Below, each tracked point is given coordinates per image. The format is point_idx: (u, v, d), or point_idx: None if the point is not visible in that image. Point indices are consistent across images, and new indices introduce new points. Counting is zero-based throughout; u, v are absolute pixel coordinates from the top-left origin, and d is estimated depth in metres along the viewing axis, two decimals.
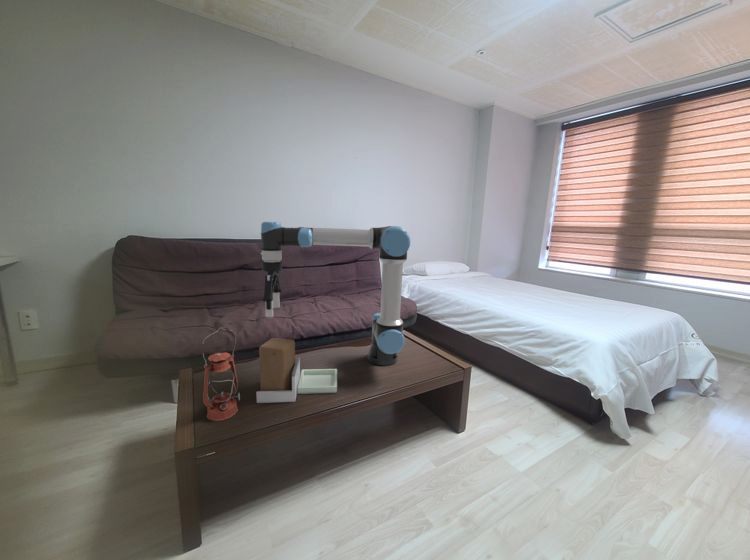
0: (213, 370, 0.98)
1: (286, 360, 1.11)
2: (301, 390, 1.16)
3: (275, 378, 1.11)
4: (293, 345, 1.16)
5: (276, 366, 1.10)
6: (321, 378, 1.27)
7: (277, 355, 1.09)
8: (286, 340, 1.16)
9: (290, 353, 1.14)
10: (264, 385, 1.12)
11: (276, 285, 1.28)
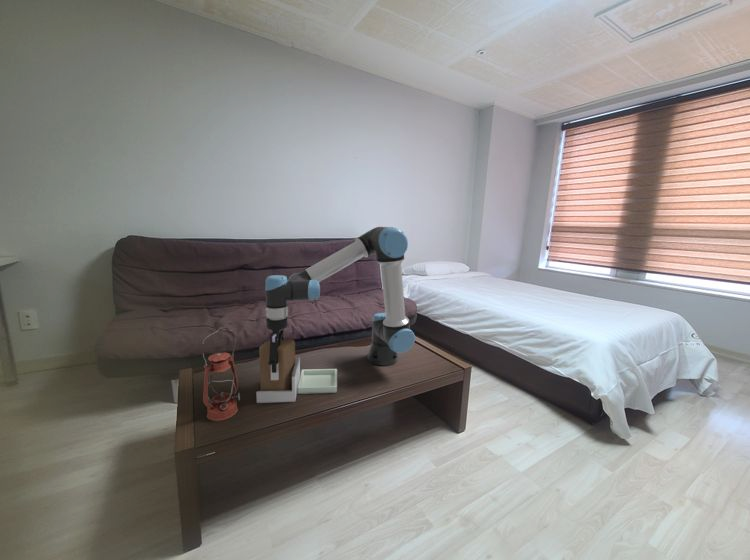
0: (213, 370, 0.98)
1: (286, 360, 1.11)
2: (301, 390, 1.16)
3: None
4: (293, 345, 1.16)
5: None
6: (321, 378, 1.27)
7: None
8: (286, 340, 1.16)
9: (290, 353, 1.14)
10: (264, 385, 1.12)
11: None
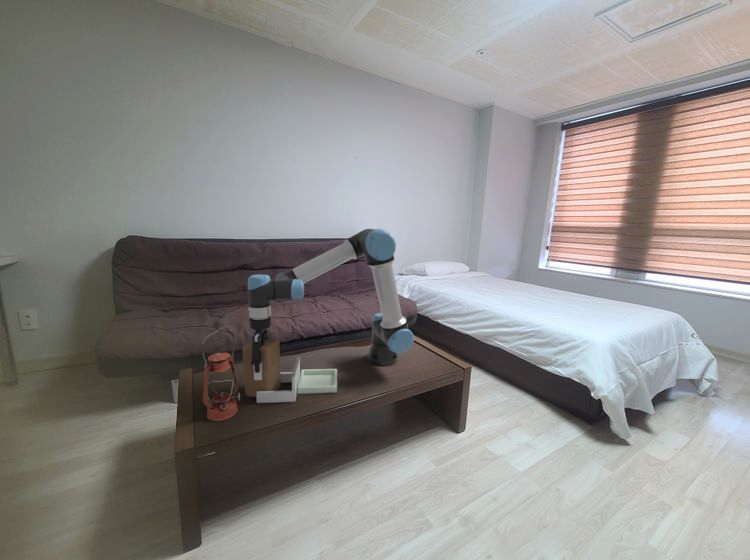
0: (213, 370, 0.98)
1: (270, 360, 1.11)
2: (301, 390, 1.16)
3: None
4: (277, 344, 1.15)
5: None
6: (321, 378, 1.27)
7: None
8: (270, 340, 1.16)
9: (274, 353, 1.13)
10: (249, 386, 1.12)
11: None
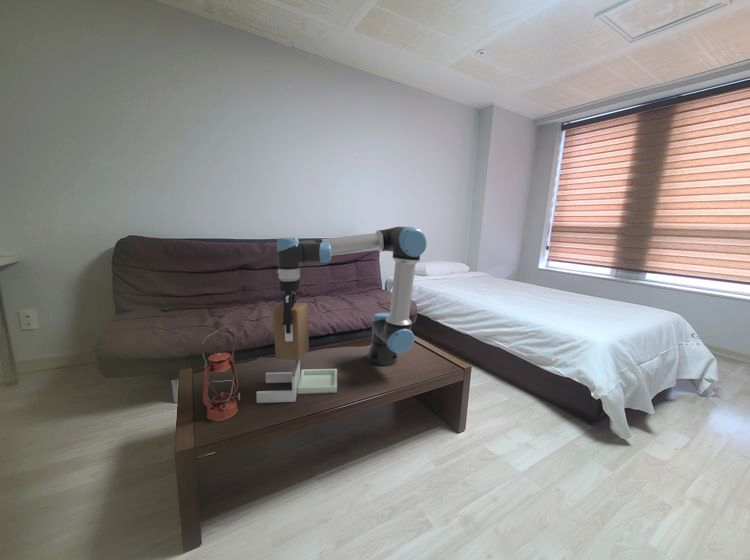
0: (213, 370, 0.98)
1: (300, 321, 1.12)
2: (301, 390, 1.16)
3: None
4: (306, 308, 1.17)
5: None
6: (321, 378, 1.27)
7: None
8: (298, 303, 1.17)
9: (303, 315, 1.15)
10: (279, 348, 1.13)
11: None
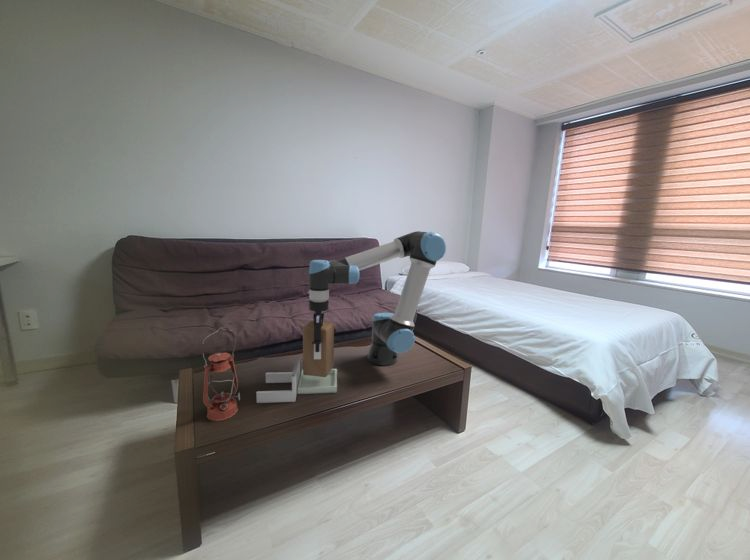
0: (213, 370, 0.98)
1: (328, 340, 1.17)
2: (301, 390, 1.16)
3: None
4: (333, 327, 1.22)
5: None
6: (321, 378, 1.27)
7: None
8: (326, 322, 1.22)
9: (331, 334, 1.20)
10: (307, 365, 1.18)
11: None
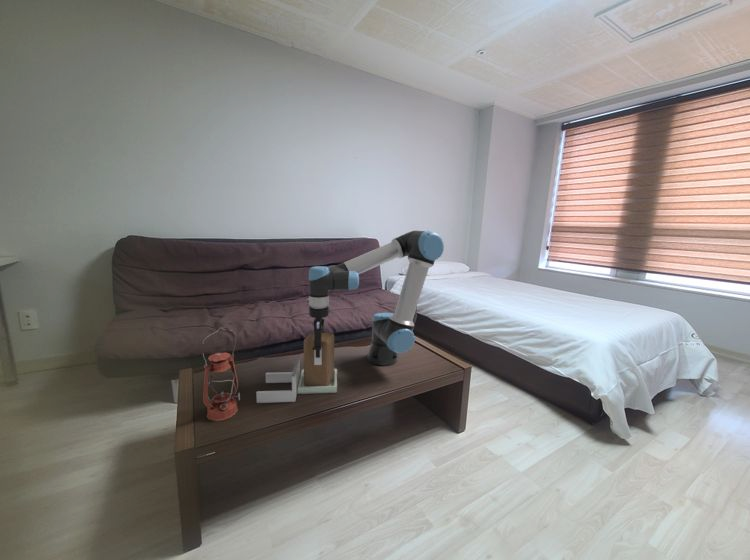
0: (213, 370, 0.98)
1: (329, 352, 1.18)
2: (301, 390, 1.16)
3: (319, 369, 1.18)
4: (333, 338, 1.23)
5: None
6: None
7: (321, 347, 1.16)
8: (326, 333, 1.23)
9: (331, 346, 1.21)
10: (308, 376, 1.19)
11: None
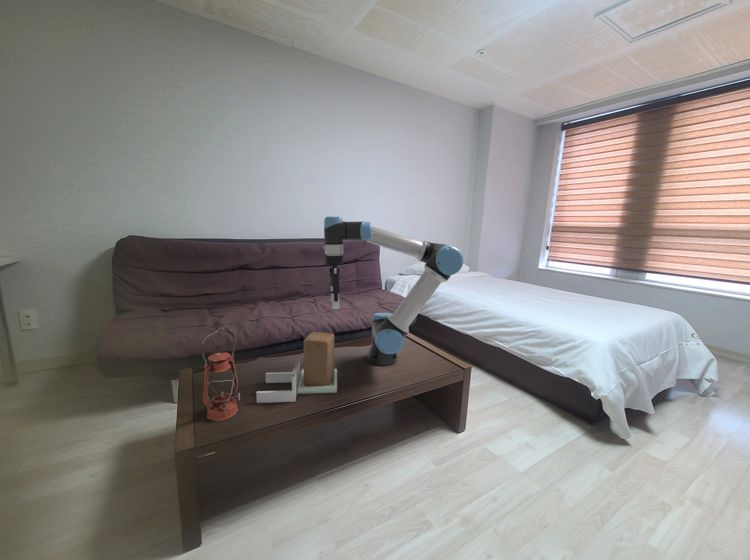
0: (213, 370, 0.98)
1: (329, 352, 1.18)
2: (301, 390, 1.16)
3: (319, 369, 1.18)
4: (333, 338, 1.23)
5: (320, 358, 1.17)
6: None
7: (321, 347, 1.16)
8: (326, 333, 1.23)
9: (331, 346, 1.21)
10: (308, 376, 1.19)
11: None
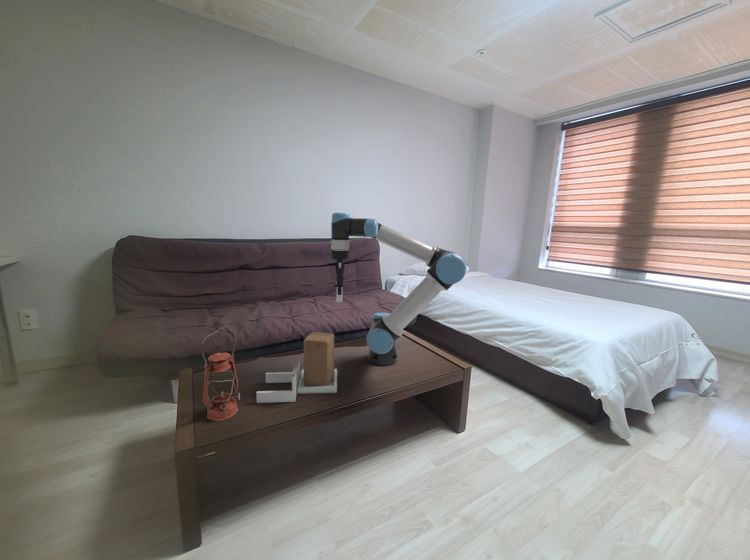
0: (213, 370, 0.98)
1: (329, 352, 1.18)
2: (301, 390, 1.16)
3: (319, 369, 1.18)
4: (333, 338, 1.23)
5: (320, 358, 1.17)
6: None
7: (321, 347, 1.16)
8: (326, 333, 1.23)
9: (331, 346, 1.21)
10: (308, 376, 1.19)
11: None
